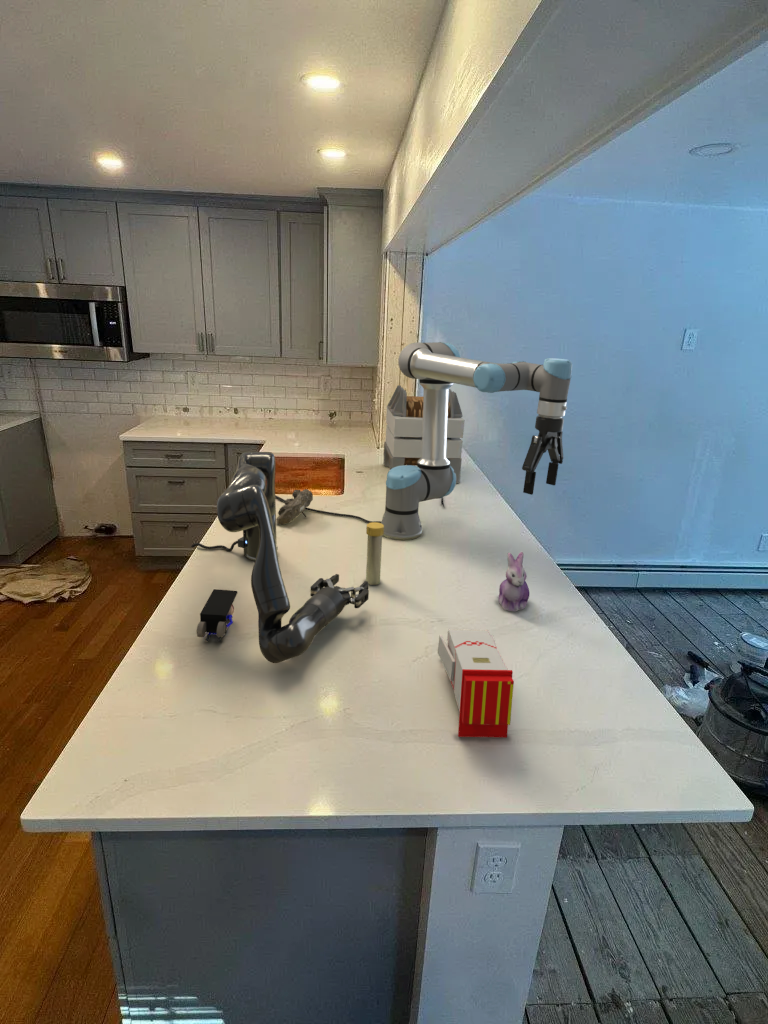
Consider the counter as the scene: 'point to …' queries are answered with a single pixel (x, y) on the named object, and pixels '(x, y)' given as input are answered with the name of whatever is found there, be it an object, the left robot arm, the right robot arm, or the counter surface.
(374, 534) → the lid
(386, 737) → the counter surface
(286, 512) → the fossil
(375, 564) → the jar
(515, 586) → the figurine
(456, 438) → the white storage crate
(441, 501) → the feather
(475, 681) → the toy
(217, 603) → the black wheeled vehicle
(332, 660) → the counter surface
